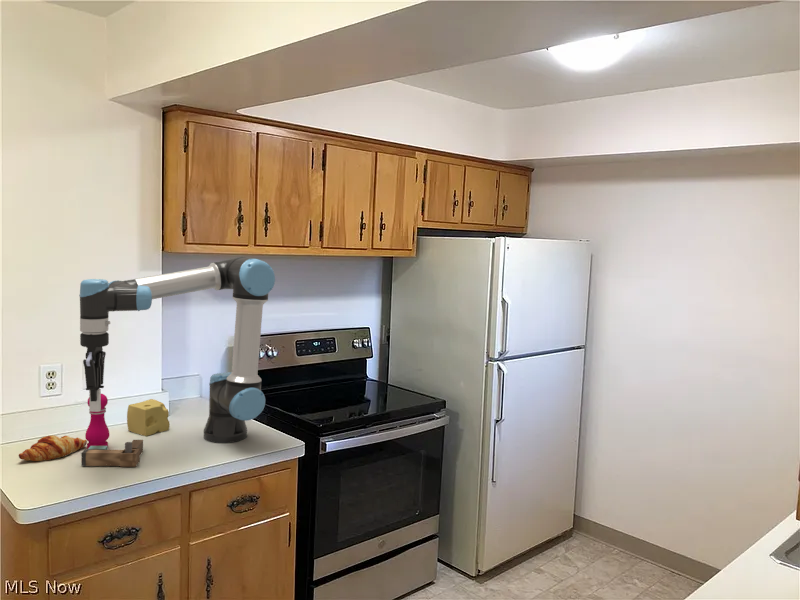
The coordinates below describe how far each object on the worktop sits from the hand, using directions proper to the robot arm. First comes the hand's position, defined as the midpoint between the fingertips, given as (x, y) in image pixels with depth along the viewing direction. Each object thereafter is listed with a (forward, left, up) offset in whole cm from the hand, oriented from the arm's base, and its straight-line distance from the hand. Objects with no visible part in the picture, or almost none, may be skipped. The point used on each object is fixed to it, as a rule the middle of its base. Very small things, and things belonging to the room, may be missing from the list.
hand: (95, 410), depth 191 cm
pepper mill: (+6, -21, -19) cm, 29 cm away
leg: (-3, -6, -19) cm, 20 cm away
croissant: (+17, -15, -19) cm, 29 cm away
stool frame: (-2, -11, -19) cm, 22 cm away
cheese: (-6, -40, -19) cm, 45 cm away
